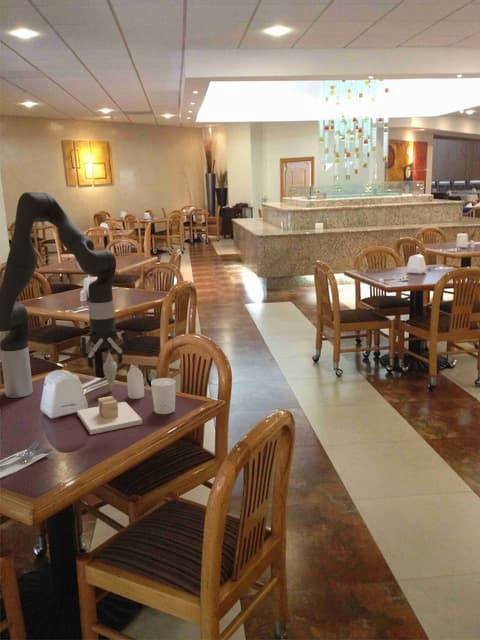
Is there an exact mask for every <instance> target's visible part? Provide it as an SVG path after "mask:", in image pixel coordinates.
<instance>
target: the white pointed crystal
mask: <svg viewBox="0 0 480 640" xmlns="http://www.w3.org/2000/svg"><path fill="white" fill-rule="evenodd" d="M126 383H127V384H126V388H127V395H128V396H127V397H128V398H129V399H133V400H135V399H137V400H138V399H142V398H144V397H145V386H144V376H143V372H142V371H141V370H140V369H139V368H138V366H137V367H136V365H134V364H133V363H131V364H130V368H129V370H128V372H127V374H126Z"/></svg>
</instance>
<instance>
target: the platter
mask: <svg viewBox="0 0 480 640" xmlns="http://www.w3.org/2000/svg"><path fill="white" fill-rule="evenodd" d="M117 403H118V417H114V418H109V419H104V418H103V417H102V416H101V415H100V413H99V405H98V406H94V407H93V406H92V407H89V408H83V409H78V410H76V412H77V413H76V414H77V417H79V419H80V420H81V422H82V424H83V425H84V427H85V429H87V431H88V432H89V434H90V435H94V434H95V435H96V434H101V433H105V432H110V431H114V430H119V429H120V430H121V429H124V428H128V427H134V426H139V425H143V419H142V417H140V415H139V414H137V413H136V411H134V409H133V408H132V407H131V406H130V405H129V404H128V403H127V402H126V401H120V402H117Z"/></svg>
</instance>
